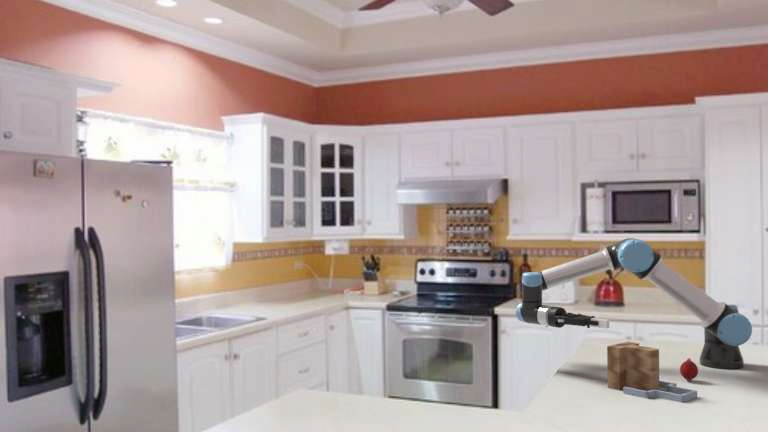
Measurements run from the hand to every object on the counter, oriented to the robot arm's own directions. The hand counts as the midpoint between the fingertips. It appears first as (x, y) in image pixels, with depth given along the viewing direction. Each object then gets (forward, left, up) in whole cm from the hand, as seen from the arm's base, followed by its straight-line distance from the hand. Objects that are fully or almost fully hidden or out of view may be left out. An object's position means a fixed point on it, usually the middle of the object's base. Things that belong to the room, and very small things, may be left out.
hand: (607, 324), depth 245 cm
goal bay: (-17, +11, -20) cm, 29 cm away
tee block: (-9, +5, -20) cm, 23 cm away
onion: (-27, -10, -21) cm, 35 cm away
